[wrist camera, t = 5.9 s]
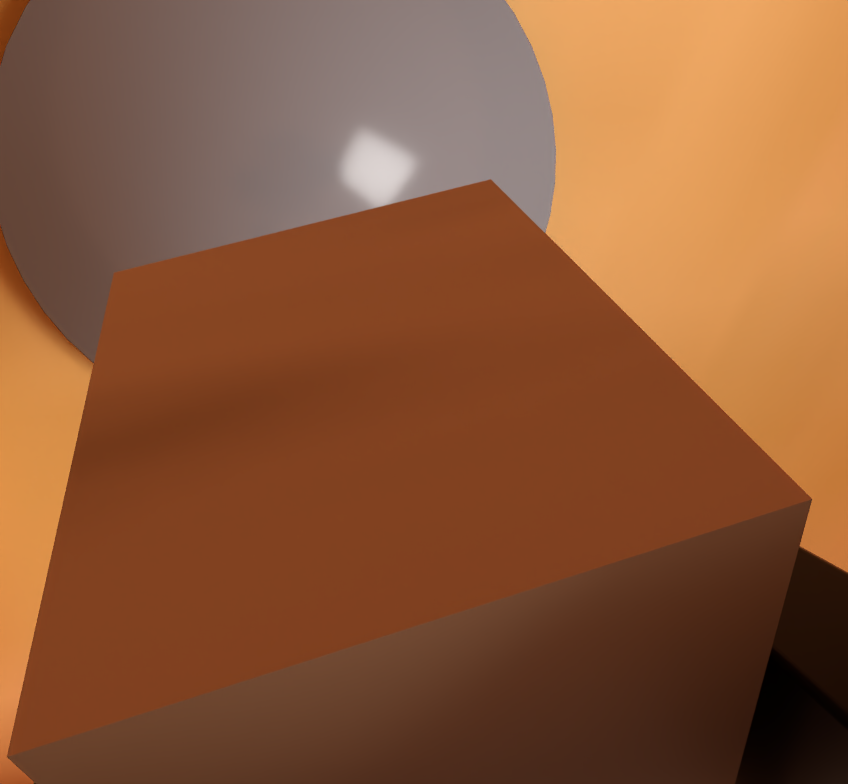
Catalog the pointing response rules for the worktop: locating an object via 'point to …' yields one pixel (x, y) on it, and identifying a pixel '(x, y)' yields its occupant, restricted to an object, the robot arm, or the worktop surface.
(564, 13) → the worktop surface
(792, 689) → the robot arm
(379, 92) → the coaster
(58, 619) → the block
